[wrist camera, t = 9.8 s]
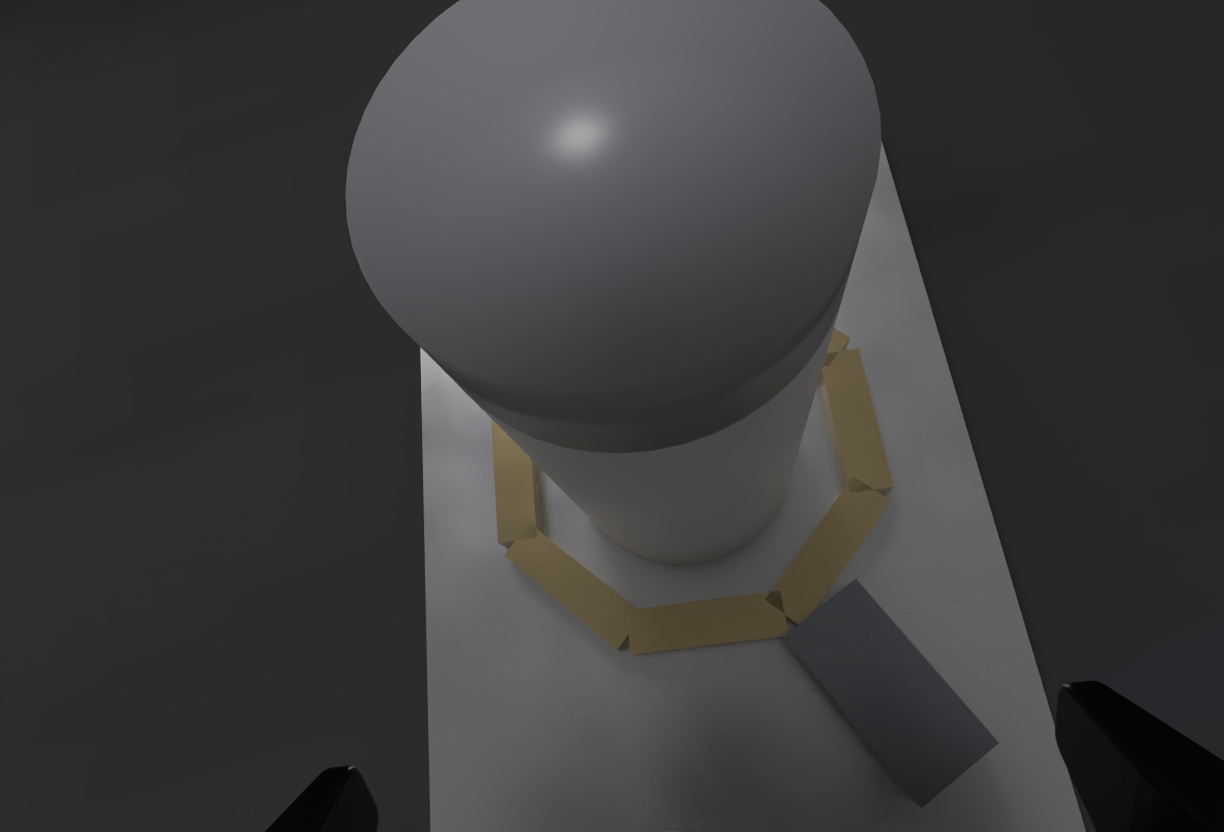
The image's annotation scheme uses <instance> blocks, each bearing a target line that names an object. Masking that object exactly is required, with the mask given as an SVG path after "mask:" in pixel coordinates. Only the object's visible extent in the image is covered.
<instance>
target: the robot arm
mask: <svg viewBox="0 0 1224 832" xmlns="http://www.w3.org/2000/svg"><path fill="white" fill-rule="evenodd" d="M1055 737H1056V742H1057V746H1058V749H1059V751H1060V754H1061V756H1062V758H1063V760H1064V762H1065V765H1066V767H1067V769H1068V771H1069V773H1070V775H1071V778H1072V780H1073V782H1074V784H1075V786H1076V788H1077V791H1078V793H1079V795H1080V797H1081V799H1082V801H1083V804H1084V806H1085V808H1086V810H1087V812H1088V814H1089V817H1090V819H1091V821H1092V823H1093V825H1094V827H1095V830H1096V832H1224V761H1223V760H1222V759H1220V758H1219V757H1217V756H1216V755H1214V754H1212V753H1211V752H1209V751H1208V750H1206V749H1205V748H1203V747H1201V746H1200V745H1198V744H1197V743H1195V742H1194V741H1192V740H1191V739H1189V738H1187V737H1186V736H1184V735H1183V734H1181V733H1180V732H1178V731H1176V730H1175V729H1173V728H1172V727H1170V726H1169V725H1167V724H1166V723H1164V722H1162V721H1161V720H1159V719H1158V718H1156V717H1155V716H1153V715H1152V714H1150V713H1148V712H1147V711H1145V710H1144V709H1142V708H1141V707H1139V706H1137V705H1136V704H1134V703H1133V702H1131V701H1130V700H1128V699H1127V698H1125V697H1123V696H1122V695H1120V694H1119V693H1117V692H1116V691H1114V690H1112V689H1111V688H1109V687H1108V686H1106V685H1104V684H1103V683H1100V682H1098V681H1082V682H1073V683H1066V684H1063V685H1062V686H1061V687H1060V688H1059V691H1058V699H1057V711H1056V723H1055ZM377 827H378V809H377V805H376V802H375V800H374V798H373V796H372V794H371V792H370V790H369V788H368V786H367V783H366V781H365V779H364V777H363V775H362V773H361V771H360V770H359V769H358V768H357V767H355V766H342V767H333V768H329V769H326V770H325V771H323V772H322V773H321V774H320V775H319V776H318V777H317V778H316V779H315V780H314V781H313V782H312V783H311V784H310V785H309V786H308V787H307V788H306V789H305V790H304V791H303V792H302V793H301V794H300V795H299V797H298V798H297V799H296V800H295V801H294V802H293V803H292V804H291V805H290V806H289V807H288V808H287V809H286V810H285V811H284V812H283V813H282V814H281V815H280V816H279V817H278V819H277V820H276V821H275V822H274V823H273V824H272V825H271V826H270V827H269V828H268V829H267V830H266V831H265V832H377Z"/></svg>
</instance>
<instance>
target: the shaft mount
mask: <svg viewBox="0 0 1224 832" xmlns="http://www.w3.org/2000/svg"><path fill="white" fill-rule="evenodd" d="M421 392H422V440H423V488H424V535H425V583H426V631H427V679H428V727H429V774H430V822H431V832H1086V830H1085V827H1084V824H1083V820H1082V817H1081V814H1080V810H1079V807H1078V803H1077V800H1076V797H1075V793H1074V790H1073V787H1072V783H1071V780H1070V776H1069V773H1068V770H1067V767H1066V765H1065V762H1064V760H1063V758H1062V756H1061V754H1060V751H1059V749H1058V746H1057V742H1056V737H1055V726H1054V722H1053V719H1052V716H1051V712H1050V709H1049V705H1048V702H1047V699H1046V695H1045V692H1044V689H1043V685H1042V682H1041V678H1040V675H1039V672H1038V668H1037V665H1036V661H1035V658H1034V655H1033V651H1032V648H1031V645H1030V641H1029V638H1028V634H1027V631H1026V628H1025V624H1024V621H1023V618H1022V614H1021V611H1020V607H1019V604H1018V601H1017V597H1016V594H1015V590H1014V587H1013V584H1012V580H1011V577H1010V574H1009V570H1008V567H1007V563H1006V560H1005V557H1004V553H1003V550H1002V547H1001V543H1000V540H999V536H998V533H997V530H996V526H995V523H994V519H993V516H992V513H991V509H990V506H989V503H988V499H987V496H986V492H985V489H984V486H983V482H982V479H981V476H980V472H979V469H978V465H977V462H976V459H975V455H974V452H973V449H972V445H971V442H970V438H969V435H968V432H967V428H966V425H965V421H964V418H963V415H962V411H961V408H960V405H959V401H958V398H957V394H956V391H955V388H954V384H953V381H952V378H951V374H950V371H949V367H948V364H947V361H946V357H945V354H944V350H943V347H942V344H941V340H940V337H939V334H938V330H937V327H936V323H935V320H934V317H933V313H932V310H931V307H930V303H929V300H928V296H927V293H926V290H925V286H924V283H923V280H922V276H921V273H920V269H919V266H918V263H917V259H916V256H915V252H914V249H913V246H912V242H911V239H910V236H909V232H908V229H907V225H906V222H905V219H904V215H903V212H902V209H901V205H900V202H899V198H898V195H897V192H896V188H895V185H894V181H893V178H892V175H891V171H890V168H889V165H888V161H887V158H886V154H885V151H884V148H883V144H882V141H881V152H880V159H879V167H878V175H877V180H876V183H875V187H874V190H873V194H872V197H871V201H870V204H869V208H868V211H867V215H866V218H865V222H864V225H863V229H862V232H861V236H860V239H859V243H858V246H857V250H856V253H855V256H854V260H853V263H852V267H851V270H850V274H849V277H848V281H847V284H846V288H845V291H844V295H843V298H842V302H841V305H840V309H839V312H838V316H837V319H836V323H835V326H834V330H833V333H832V336H831V340H830V343H829V347H828V350H827V354H826V357H825V361H824V364H823V368H822V371H821V375H820V378H819V382H818V385H817V389H816V392H815V396H814V399H813V403H812V406H811V409H810V413H809V416H808V420H807V423H806V427H805V430H804V434H803V437H802V441H801V444H800V448H799V451H798V455H797V458H796V462H795V465H794V469H793V472H792V476H791V479H790V482H789V486H788V489H787V493H786V495H785V498H784V500H783V502H782V504H781V507H780V508H779V510H778V512H777V513H776V515H775V516H774V518H773V519H772V521H771V522H770V523H769V524H768V525H767V527H766V528H765V529H764V530H763V531H762V532H761V533H760V534H759V535H758V536H757V537H756V538H755V539H753V540H752V541H751V542H750V543H748V544H747V545H745V546H744V547H742V548H741V549H739V550H737V551H735V552H733V553H731V554H729V555H727V556H725V557H722V558H719V559H716V560H713V561H710V562H705V563H700V564H690V565H675V564H665V563H660V562H655V561H651V560H648V559H645V558H642V557H639V556H637V555H635V554H633V553H631V552H629V551H627V550H626V549H624V548H623V547H621V546H620V545H618V544H617V543H615V542H614V541H613V540H612V539H611V538H609V537H608V536H607V535H606V534H605V533H604V532H603V531H602V530H601V529H600V528H599V527H598V526H597V525H596V524H595V523H594V522H593V521H592V520H591V519H590V518H589V517H588V516H587V515H586V514H585V513H584V512H583V511H582V510H581V509H580V508H579V507H578V506H577V505H576V504H575V503H574V502H573V501H572V500H571V499H570V498H569V497H568V496H567V495H566V494H565V493H564V492H563V491H562V490H561V489H560V488H559V487H558V486H557V485H556V484H555V483H554V482H553V481H552V480H551V479H550V478H549V477H548V476H547V475H546V473H545V472H544V471H543V470H542V469H541V468H540V467H539V466H538V465H537V464H536V463H535V462H534V461H533V460H532V459H531V458H530V457H529V456H528V455H527V454H526V453H525V452H524V451H523V450H522V449H521V448H520V447H519V446H518V445H517V444H516V443H515V442H514V441H513V440H512V439H511V438H510V437H509V436H508V435H507V434H506V433H505V432H504V431H503V430H502V429H501V428H500V427H499V426H498V425H497V424H496V423H495V422H494V421H493V420H492V419H491V418H490V417H489V416H488V415H487V414H486V413H485V412H484V411H483V410H482V409H481V408H480V407H479V406H478V405H477V404H476V403H475V402H474V401H473V400H472V399H471V398H470V397H469V396H468V395H467V394H466V393H465V392H464V391H463V390H462V389H461V388H460V387H459V386H458V385H457V384H456V383H455V381H454V380H453V379H452V378H451V377H450V376H449V375H448V374H447V373H446V372H445V371H444V370H443V369H442V368H441V367H440V366H439V365H438V364H437V363H436V362H435V361H434V360H433V359H432V358H431V357H430V356H429V355H428V354H427V353H426V352H425V351H424V350H423V349H422V348H421Z"/></svg>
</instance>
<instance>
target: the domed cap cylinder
mask: <svg viewBox="0 0 1224 832" xmlns="http://www.w3.org/2000/svg"><path fill="white" fill-rule="evenodd" d="M880 152H881V125H880V112H879V107H878V102H877V97H876V93H875V88H874V84H873V81H872V79H871V76H870V74H869V71H868V69H867V66H866V64H865V61H864V58H863V56H862V55H861V53H860V51H859V50H858V48H857V46H856V45H855V43H854V41H853V40H852V38H851V36H850V35H849V33H848V32H847V30H846V29H845V28H844V27H843V26H842V24H841V23H840V22H839V21H838V20H837V18H836V17H835V16H834V15H833V14H832V12H831V11H830V10H829V9H828V8H827V7H826V6H825V5H823V4H822V3H821V2H820V1H819V0H459V1H458V2H457V3H455V4H454V5H453V6H451V7H450V8H449V9H447V10H446V11H445V12H443V13H442V14H441V15H440V16H438V17H437V18H436V19H435V20H434V21H433V22H432V23H430V24H429V25H428V26H427V27H426V28H425V29H424V30H423V31H422V32H421V33H420V34H419V35H418V36H417V37H416V38H415V39H414V40H413V41H412V42H411V43H410V44H409V45H408V47H407V48H406V49H405V50H404V51H403V52H402V54H401V55H400V56H399V57H398V58H397V59H396V60H395V62H394V63H393V65H392V66H391V68H390V69H389V71H388V72H387V73H386V75H385V76H384V78H383V79H382V81H381V82H380V84H379V85H378V87H377V89H376V91H375V93H374V94H373V96H372V98H371V100H370V102H369V104H368V106H367V108H366V109H365V112H364V114H363V117H362V120H361V122H360V125H359V127H358V130H357V133H356V135H355V138H354V142H353V147H352V151H351V155H350V159H349V163H348V172H347V183H346V210H347V223H348V227H349V232H350V237H351V242H352V246H353V250H354V252H355V255H356V258H357V260H358V263H359V265H360V268H361V271H362V273H363V275H364V277H365V279H366V281H367V282H368V284H369V286H370V287H371V289H372V291H373V293H374V294H375V296H376V298H377V299H378V301H379V302H380V303H381V305H382V306H383V307H384V308H385V309H386V311H387V312H388V313H389V314H390V315H391V317H392V318H393V319H394V320H395V321H396V323H397V324H398V325H399V326H400V327H401V328H402V329H403V330H404V331H405V332H406V333H407V334H408V335H409V336H410V337H411V338H412V339H413V340H414V341H415V342H416V343H417V344H418V345H419V346H420V347H421V348H422V349H423V350H424V351H425V352H426V353H427V354H428V355H429V356H430V357H431V358H432V359H433V360H434V361H435V362H436V363H437V364H438V365H439V366H440V367H441V368H442V369H443V370H444V371H445V372H446V373H447V374H448V375H449V376H450V377H451V378H452V379H453V380H454V381H455V383H456V384H457V385H458V386H459V387H460V388H461V389H462V390H463V391H464V392H465V393H466V394H467V395H468V396H469V397H470V398H471V399H472V400H473V401H474V402H475V403H476V404H477V405H478V406H479V407H480V408H481V409H482V410H483V411H484V412H485V413H486V414H487V415H488V416H489V417H490V418H491V419H492V420H493V421H494V422H495V423H496V424H497V425H498V426H499V427H500V428H501V429H502V430H503V431H504V432H505V433H506V434H507V435H508V436H509V437H510V438H511V439H512V440H513V441H514V442H515V443H516V444H517V445H518V446H519V447H520V448H521V449H522V450H523V451H524V452H525V453H526V454H527V455H528V456H529V457H530V458H531V459H532V460H533V461H534V462H535V463H536V464H537V465H538V466H539V467H540V468H541V469H542V470H543V471H544V472H545V473H546V475H547V476H548V477H549V478H550V479H551V480H552V481H553V482H554V483H555V484H556V485H557V486H558V487H559V488H560V489H561V490H562V491H563V492H564V493H565V494H566V495H567V496H568V497H569V498H570V499H571V500H572V501H573V502H574V503H575V504H576V505H577V506H578V507H579V508H580V509H581V510H582V511H583V512H584V513H585V514H586V515H587V516H588V517H589V518H590V519H591V520H592V521H593V522H594V523H595V524H596V525H597V526H598V527H599V528H600V529H601V530H602V531H603V532H604V533H605V534H606V535H607V536H608V537H609V538H611V539H612V540H613V541H614V542H615V543H617V544H618V545H620V546H621V547H623V548H624V549H626V550H627V551H629V552H631V553H633V554H635V555H637V556H639V557H642V558H645V559H648V560H651V561H655V562H660V563H665V564H675V565H690V564H700V563H705V562H710V561H713V560H716V559H719V558H722V557H725V556H727V555H729V554H731V553H733V552H735V551H737V550H739V549H741V548H742V547H744V546H745V545H747V544H748V543H750V542H751V541H752V540H753V539H755V538H756V537H757V536H758V535H759V534H760V533H761V532H762V531H763V530H764V529H765V528H766V527H767V525H768V524H769V523H770V522H771V521H772V519H773V518H774V516H775V515H776V513H777V512H778V510H779V508H780V507H781V504H782V502H783V500H784V498H785V495H786V493H787V489H788V486H789V482H790V479H791V476H792V472H793V469H794V465H795V462H796V458H797V455H798V451H799V448H800V444H801V441H802V437H803V434H804V430H805V427H806V423H807V420H808V416H809V413H810V409H811V406H812V403H813V399H814V396H815V392H816V389H817V385H818V382H819V378H820V375H821V371H822V368H823V364H824V361H825V357H826V354H827V350H828V347H829V343H830V340H831V336H832V333H833V330H834V326H835V323H836V319H837V316H838V312H839V309H840V305H841V302H842V298H843V295H844V291H845V288H846V284H847V281H848V277H849V274H850V270H851V267H852V263H853V260H854V256H855V253H856V250H857V246H858V243H859V239H860V236H861V232H862V229H863V225H864V222H865V218H866V215H867V211H868V208H869V204H870V201H871V197H872V194H873V190H874V187H875V183H876V180H877V175H878V167H879V159H880Z"/></svg>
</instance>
